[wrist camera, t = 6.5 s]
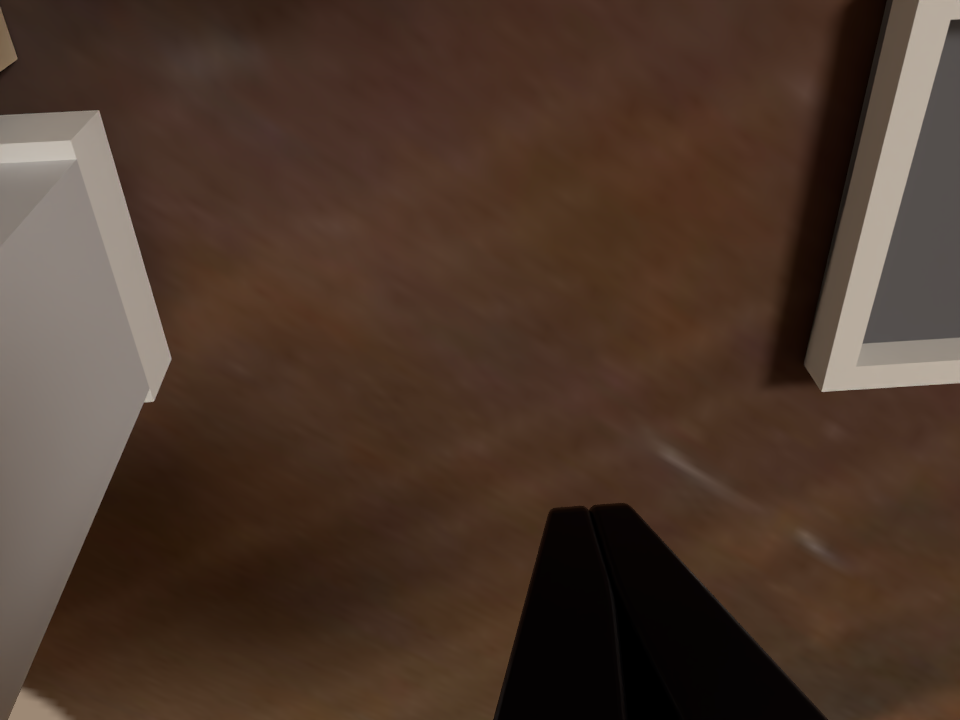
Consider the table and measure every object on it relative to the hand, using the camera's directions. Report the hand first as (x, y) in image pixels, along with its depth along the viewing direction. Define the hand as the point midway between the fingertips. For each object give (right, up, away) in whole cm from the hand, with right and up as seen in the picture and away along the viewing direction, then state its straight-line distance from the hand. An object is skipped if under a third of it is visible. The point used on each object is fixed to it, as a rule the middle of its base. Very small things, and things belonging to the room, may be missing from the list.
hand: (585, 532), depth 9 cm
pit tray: (+8, +5, +7) cm, 12 cm away
